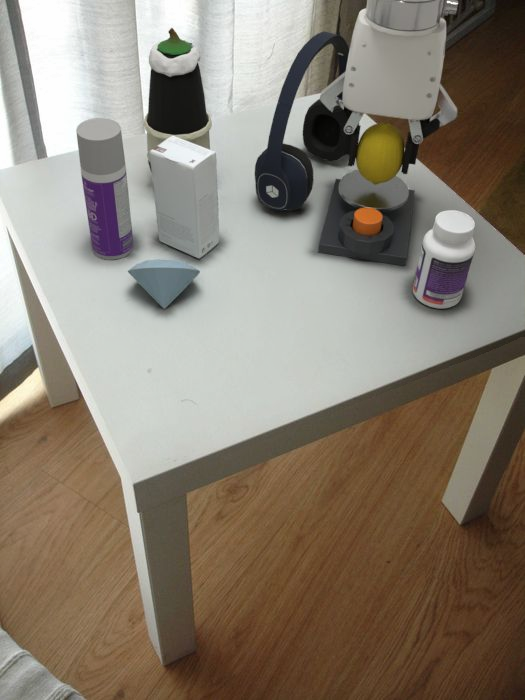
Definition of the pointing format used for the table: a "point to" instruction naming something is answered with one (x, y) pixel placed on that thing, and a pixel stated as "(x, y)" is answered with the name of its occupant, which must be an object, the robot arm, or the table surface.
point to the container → (105, 187)
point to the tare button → (367, 221)
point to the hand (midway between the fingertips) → (378, 162)
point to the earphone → (318, 135)
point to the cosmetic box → (185, 195)
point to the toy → (176, 95)
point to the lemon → (380, 153)
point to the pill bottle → (445, 260)
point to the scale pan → (373, 192)
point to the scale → (377, 247)
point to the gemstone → (163, 278)
